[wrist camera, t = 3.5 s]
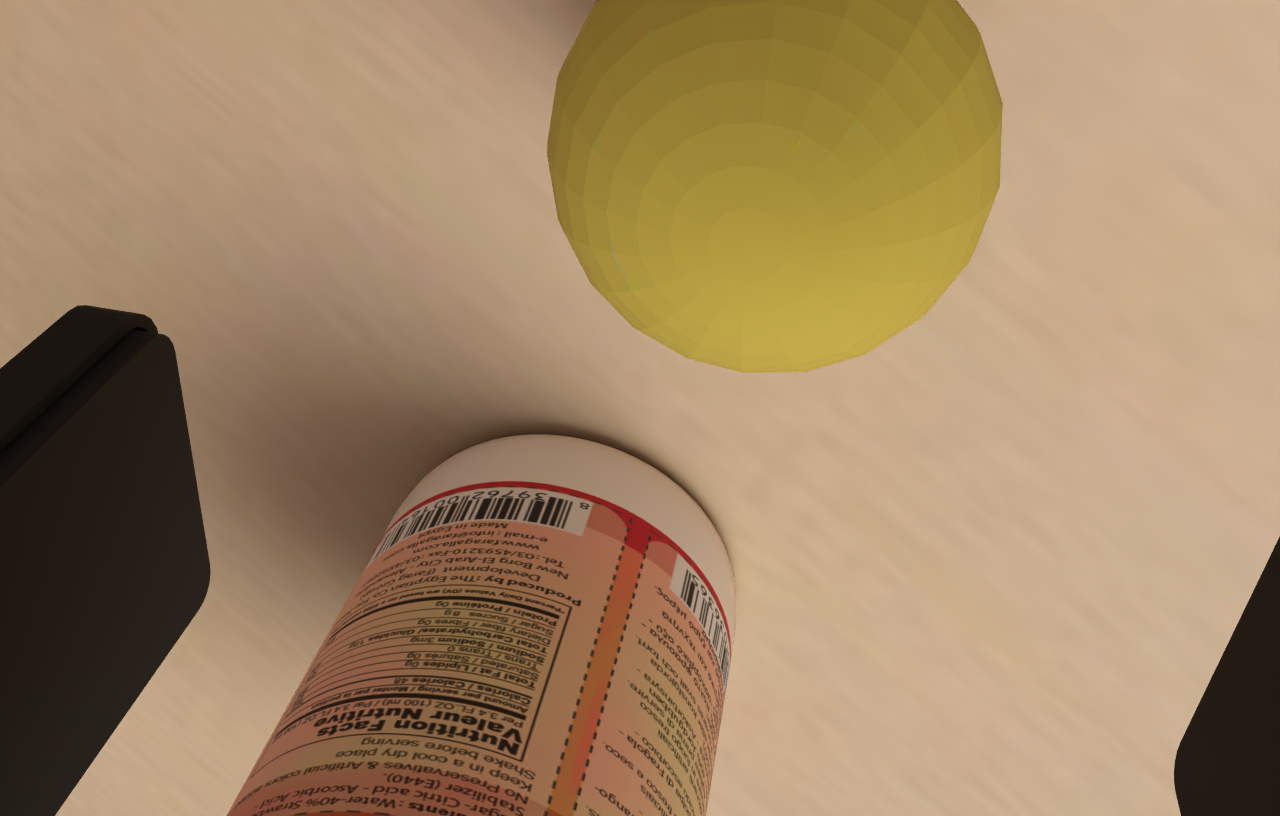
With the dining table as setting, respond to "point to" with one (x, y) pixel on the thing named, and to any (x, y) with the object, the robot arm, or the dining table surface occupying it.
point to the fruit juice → (518, 650)
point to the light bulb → (775, 169)
